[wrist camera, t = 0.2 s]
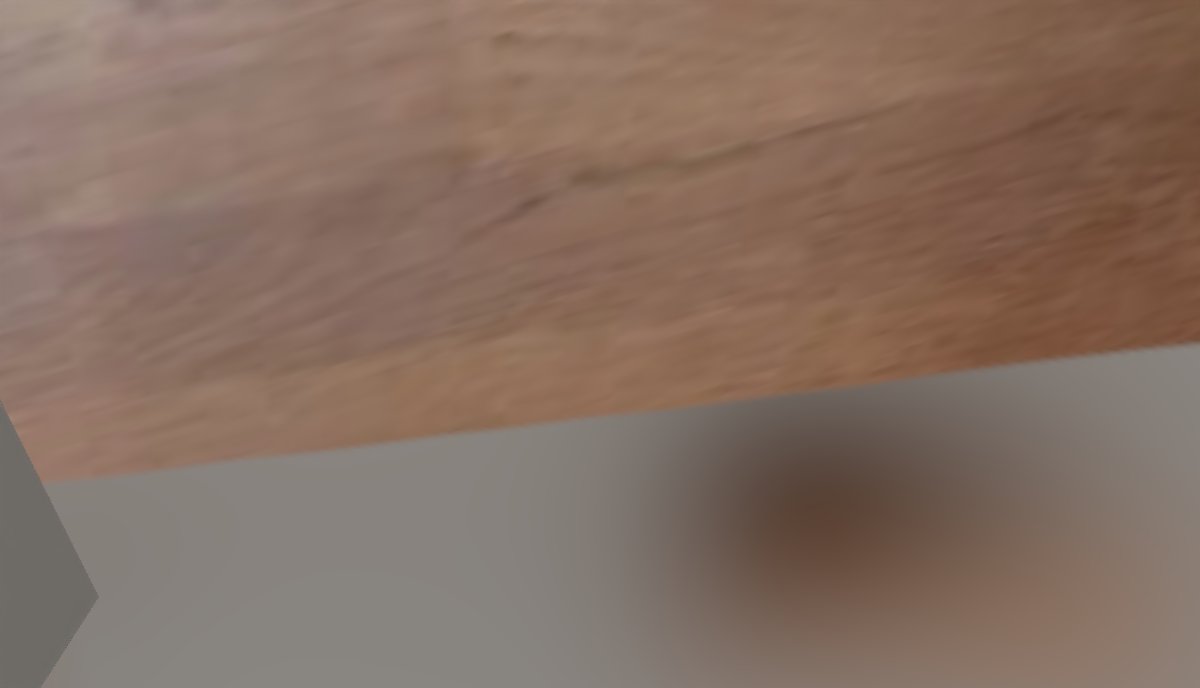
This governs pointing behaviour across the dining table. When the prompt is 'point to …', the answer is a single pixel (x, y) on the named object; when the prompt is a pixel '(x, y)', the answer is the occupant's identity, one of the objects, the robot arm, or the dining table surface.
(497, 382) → the dining table surface
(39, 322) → the dining table surface
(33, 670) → the robot arm
